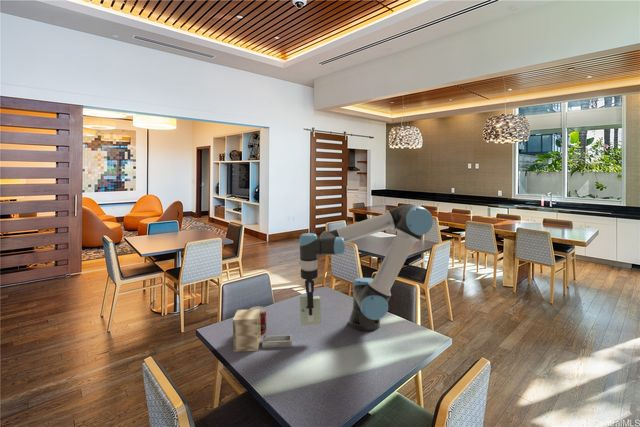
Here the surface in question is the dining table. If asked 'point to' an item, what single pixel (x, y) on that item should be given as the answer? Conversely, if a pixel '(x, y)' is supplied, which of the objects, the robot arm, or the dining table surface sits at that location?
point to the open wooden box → (246, 330)
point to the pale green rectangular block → (304, 311)
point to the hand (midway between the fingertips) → (310, 319)
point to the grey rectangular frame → (277, 341)
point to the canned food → (261, 318)
